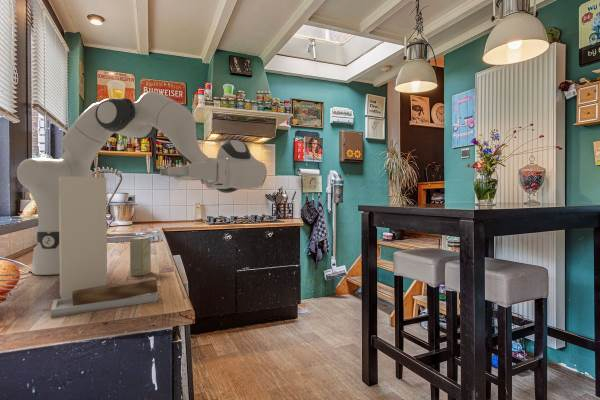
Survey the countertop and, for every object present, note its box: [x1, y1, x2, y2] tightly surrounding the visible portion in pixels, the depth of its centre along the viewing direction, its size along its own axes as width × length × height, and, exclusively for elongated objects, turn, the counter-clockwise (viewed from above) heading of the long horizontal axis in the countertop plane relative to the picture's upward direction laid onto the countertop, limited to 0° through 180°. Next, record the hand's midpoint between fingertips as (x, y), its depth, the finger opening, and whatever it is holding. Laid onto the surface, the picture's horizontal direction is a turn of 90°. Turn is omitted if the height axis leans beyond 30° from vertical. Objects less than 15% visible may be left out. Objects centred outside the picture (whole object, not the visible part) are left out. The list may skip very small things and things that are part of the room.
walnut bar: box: [72, 276, 158, 306], centre depth 86 cm, size 18×3×3 cm, turn 122°
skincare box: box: [129, 236, 152, 277], centre depth 118 cm, size 6×4×12 cm
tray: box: [50, 292, 159, 318], centre depth 85 cm, size 22×9×2 cm, turn 122°
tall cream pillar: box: [59, 176, 108, 299], centre depth 93 cm, size 10×9×31 cm
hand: (163, 171), depth 94 cm, fingers open, 8 cm apart
